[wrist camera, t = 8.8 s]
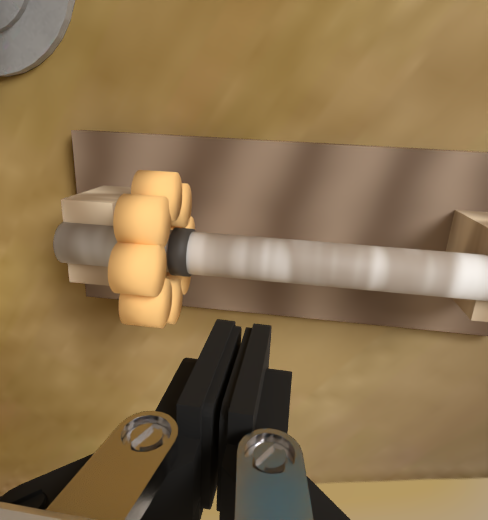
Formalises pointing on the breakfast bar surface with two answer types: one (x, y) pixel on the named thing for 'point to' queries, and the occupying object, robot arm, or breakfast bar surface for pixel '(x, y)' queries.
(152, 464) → the robot arm
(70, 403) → the breakfast bar surface
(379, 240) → the pipe stand
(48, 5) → the mate gourd
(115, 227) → the tan lobed rosette
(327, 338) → the breakfast bar surface
